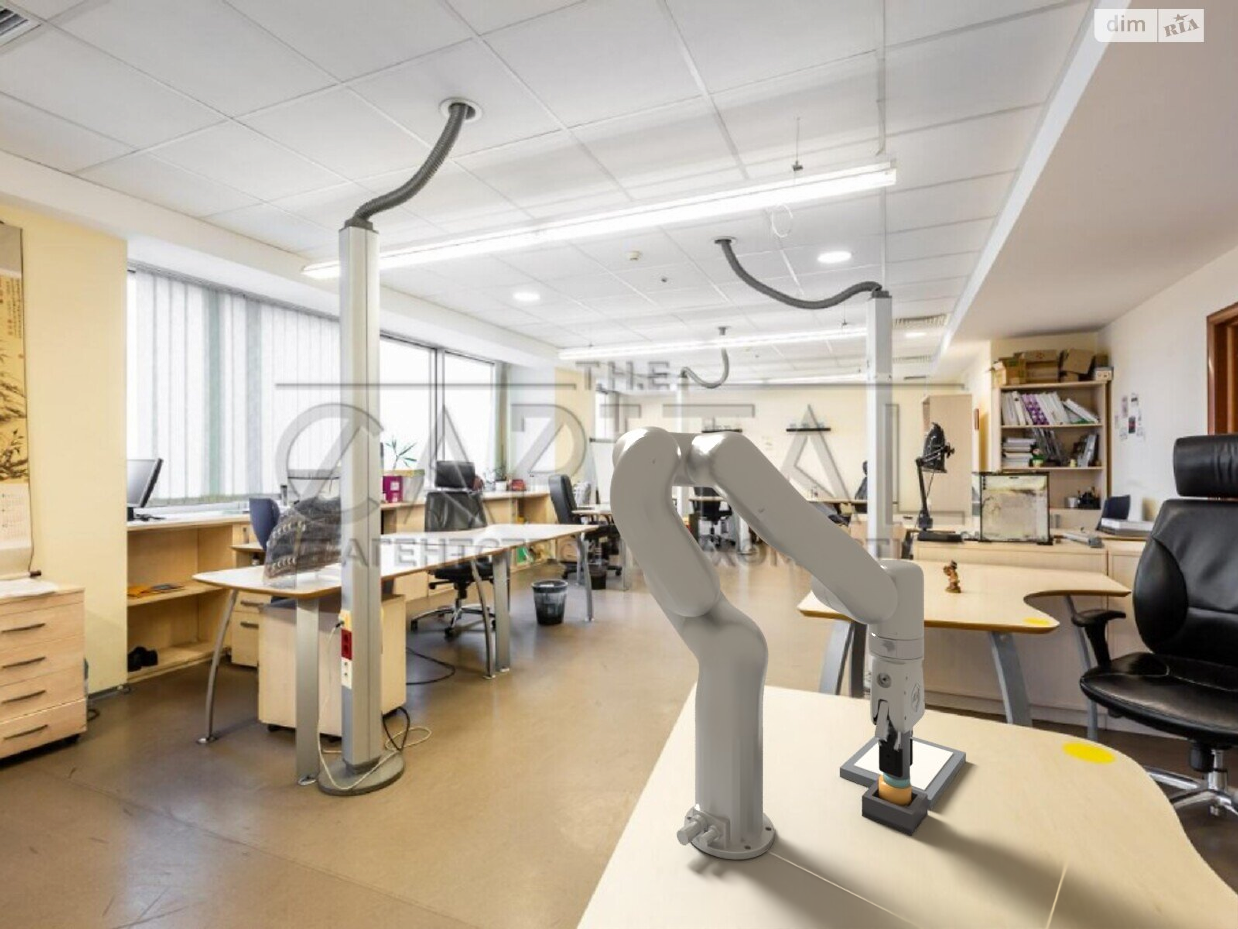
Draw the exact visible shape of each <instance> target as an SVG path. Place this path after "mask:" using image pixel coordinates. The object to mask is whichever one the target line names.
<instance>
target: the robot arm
mask: <svg viewBox="0 0 1238 929" xmlns="http://www.w3.org/2000/svg"><path fill="white" fill-rule="evenodd" d="M611 457H612V458H611V459H612V464H613V468H614V469H613V472H612V475H611V476H612V477H611V479H610V486H609V507H610V508H609V509H610V514H611V517H612V520H613V522H614V525H615V528H616V529H617V531H618V533H619V534H620V536H621V539H622V540H623V541H624V544H626V547H627V548H628V550H629V551H630V552H631V554H632V556H633V558H634V560H635V561H636V563H637V565H638V566H639V567H640V568H641V571H642V573H643V574H642V575H643V580H644V583H645V585H646V587H647V589H648V590H649V593H650V595H652V598H653V599H654V600H655V601H656V603H657V605H658V606H659V608H660V609H661V610H662V612H663V613H664V615H665V616H666V618H667V619H668V622H670V624H671V625H672V626H673V628H674V629H675V631H676V632H677V634H678V635H679V636H680V638H681V639H682V641H683V642H684V644H685V645H686V647H688V649H689V650H690V651H691V653H692V654H693V656H694V657H695V658H696V660H697V662H698V676H697V682H696V688H695V698H694V749H695V750H694V761H695V762H694V763H695V764H694V776H695V778H694V790H695V791H694V795H695V796H694V805H693V806H691V808H689V810H688V811H687V812H686V814H685V816H684V822H683V823H684V824H683V826H682V827H681V828H679V830H677V831H676V837H677V838H676V839H677V841H678V842H679V844H681V845H682V846H688V844H690V843H691V844H693V846H695V847H696V848H698V849H699V850H701V851H702V852H704V853H706V854H707V855H711V856H714V857H717V858H721V859H726V860H727V859H728V860H746V859H748V860H749V859H753V858H756V857H758V856H761V855H762V854H765V853H766V852H767V851H768V850H769V849H770V848H771V847H772V845H773V843H774V841H775V828H774V824H773V822H772V820H771V819H770V817H769V816H768V815H767V814H766V813H765V812H764V727H763V726H764V725H763V724H764V720H763V719H764V718H763V717H764V694H765V692H764V691H765V684H766V678H767V672H768V666H769V665H768V664H769V646H768V643H767V640H766V637H765V635H764V633H763V631H762V629H761V628H760V627H759V625H758V624H757V623H756V622H755V621H754V620H753V619H752V618H751V617H750V616H749V615H747V614H746V613H744V612H743V611H741V610H740V609H739V608H738V607H736V606H734V605H733V604H732V603H731V601H729V599H728V598H727V596H726V595H725V594H724V592H723V590H721V580H720V577H719V572H718V570H717V569H716V567H715V565H714V564H713V562H712V561H711V559H710V558H709V557H708V556H707V555H706V552H705V551H704V550H703V549H702V547H701V546H700V544H699V543H698V541H697V540H696V538H694V535H693V534H692V533H691V531H690V530H689V528H688V527H687V525H686V524H685V522H684V520H683V518H682V517H681V515H680V514H679V512H678V510H677V507H676V505H675V504H674V500H673V487H681V488H682V487H683V488H686V487H687V488H689V487H690V488H711V489H713V491H715V493H716V494H718V496H719V497H720V498H721V499H722V500H724V502H725V503H726V504H727V505H729V507H730V508H731V509H733V511H735V513H736V514H737V515H738V516H739V517H740V518H741V519H742V520H743V521H744V522H745V523H746V525H747V526H748V528H750V530H751V531H752V532H754V533H755V534H756V536H757V537H759V538H760V539H761V540H762V541H763V542H764V543H765V544H767V545H768V546H769V547H770V548H772V549H773V550H775V551H776V552H778V553H779V554H780V555H783V556H785V557H786V558H788V559H790V560H791V561H792V562H795V563H796V564H798V565H799V566H800V567H801V568H803V569H804V570H805V571H807V572H808V573H809V574H810V575H811V577H810V588H811V591H812V593H813V596H814V597H815V598H816V600H818V601H819V602H820V603H821V604H823V605H824V606H826V608H827V607H828V608H829V609H832V610H834V611H835V612H837V613H839V614H842V615H844V616H846V617H848V618H849V619H852V620H853V621H856V622H858V623H860V624H862V625H868V630H867V631H868V632H867V633H868V635H867V636H868V637H867V638H868V639H867V642H868V643H867V645H868V646H867V647H868V650H867V652H868V654H869V655H870V656H872V662H871V663H872V664H871V674H870V691H869V692H870V694H869V714H870V721H871V723H872V725H874V726H875V730H874V736H875V737H876V738H877V739H878V745H879V770H880V771H881V772H884V773H887V774H890V775H893V776H896V777H899V778H901V777H902V776H903V749H900V742H901V733H906V732H908V731H909V730H910V766H911V765H912V764H913V739H911V738H912V737H914V727H915V725H916V724H918V723H919V721H920V720H921V719H922V718H923V717H924V715H925V712H926V704H925V703H926V701H925V682H924V680H925V679H924V668H923V661H924V660H925V578H924V577H925V575H924V571H923V568H922V567H921V566H920V565H919V564H916V563H914V562H911V561H906V560H898V559H897V560H895V559H881V560H876V559H875V558H874V557H873V556H872V555H871V553H869V552H868V551H867V549H866V548H864V547H863V546H862V544H860V543H859V542H858V540H856V539H855V538H854V537H852V536H851V535H850V534H849V533H848V532H846V531H845V530H844V529H843V528H841V526H839V525H838V524H836V523H835V522H834V521H832V520H831V518H829V517H828V516H827V515H826V514H825V513H823V512H822V510H820V509H818V508H817V507H816V506H814V504H812V503H810V502H809V501H808V500H807V499H806V498H805V497H804V496H803V495H802V493H800V492H799V491H798V489H796V488H795V486H794V485H793V484H792V483H791V482H790V481H789V480H788V478H786V477H785V476H784V474H782V472H781V471H780V470H779V469H778V468H777V467H776V466H775V465H774V464H773V463H772V462H771V460H770V459H769V458H768V457H767V456H766V455H765V454H764V452H762V451H761V450H760V449H759V448H758V447H757V446H756V444H755V443H754V442H752V440H750V439H749V438H748V437H747V436H745V435H743V434H742V433H740V432H737V431H730V430H727V431H724V430H723V431H717V432H715V431H714V432H706V433H705V432H703V433H695V432H694V433H692V432H675V431H674V432H673V431H668V430H666V429H665V428H662V427H659V426H651V425H650V426H643V427H638V428H636V429H635V428H634V429H633V430H630V431H627V432H626V433H624V434H623V435H621V437H619V438H618V439H617V441H616V443H615V445H614V446H613V449H612V455H611ZM889 722H891V723H892V724H893V725H890V724H889ZM888 731H892V732H894V738H893V736H892V735H891V734H889V733H888Z"/></svg>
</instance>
